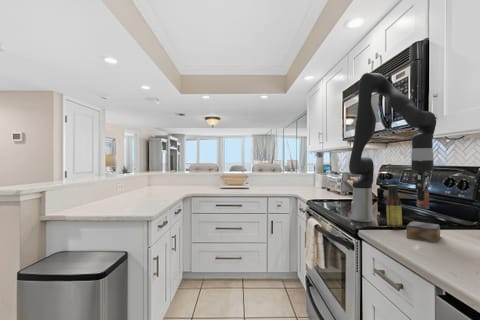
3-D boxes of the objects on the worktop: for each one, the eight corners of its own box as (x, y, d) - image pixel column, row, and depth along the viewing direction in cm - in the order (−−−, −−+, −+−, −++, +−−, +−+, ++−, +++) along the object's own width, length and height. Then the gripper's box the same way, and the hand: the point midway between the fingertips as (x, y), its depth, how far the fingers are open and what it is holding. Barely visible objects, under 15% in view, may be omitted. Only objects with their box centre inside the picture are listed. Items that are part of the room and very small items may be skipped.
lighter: (414, 205, 114) (414, 181, 114) (423, 205, 113) (423, 181, 113) (421, 208, 106) (421, 183, 106) (431, 208, 105) (431, 183, 105)
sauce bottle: (405, 228, 124) (404, 185, 124) (395, 229, 122) (395, 186, 122) (392, 225, 130) (392, 184, 130) (383, 226, 128) (382, 184, 128)
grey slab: (406, 237, 110) (406, 225, 110) (411, 232, 117) (411, 221, 117) (436, 242, 103) (436, 229, 103) (440, 236, 110) (439, 224, 110)
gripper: (415, 159, 118) (415, 196, 118) (407, 159, 107) (408, 200, 107) (436, 159, 112) (436, 198, 112) (430, 159, 102) (430, 202, 102)
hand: (422, 199), depth 110 cm, fingers closed on lighter, 7 cm apart
